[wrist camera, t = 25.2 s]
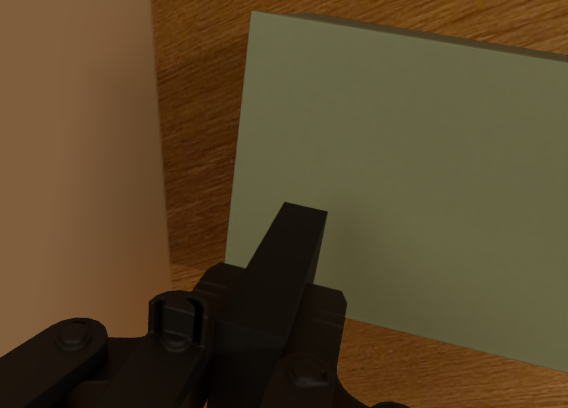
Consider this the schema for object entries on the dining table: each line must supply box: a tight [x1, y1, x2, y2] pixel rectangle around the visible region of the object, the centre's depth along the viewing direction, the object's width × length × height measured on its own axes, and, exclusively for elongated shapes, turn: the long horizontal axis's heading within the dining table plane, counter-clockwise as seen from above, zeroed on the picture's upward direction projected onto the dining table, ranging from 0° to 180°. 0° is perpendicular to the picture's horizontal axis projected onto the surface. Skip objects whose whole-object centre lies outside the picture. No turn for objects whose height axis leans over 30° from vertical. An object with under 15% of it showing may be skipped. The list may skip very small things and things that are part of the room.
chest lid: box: [224, 11, 568, 373], centre depth 21 cm, size 19×14×1 cm
